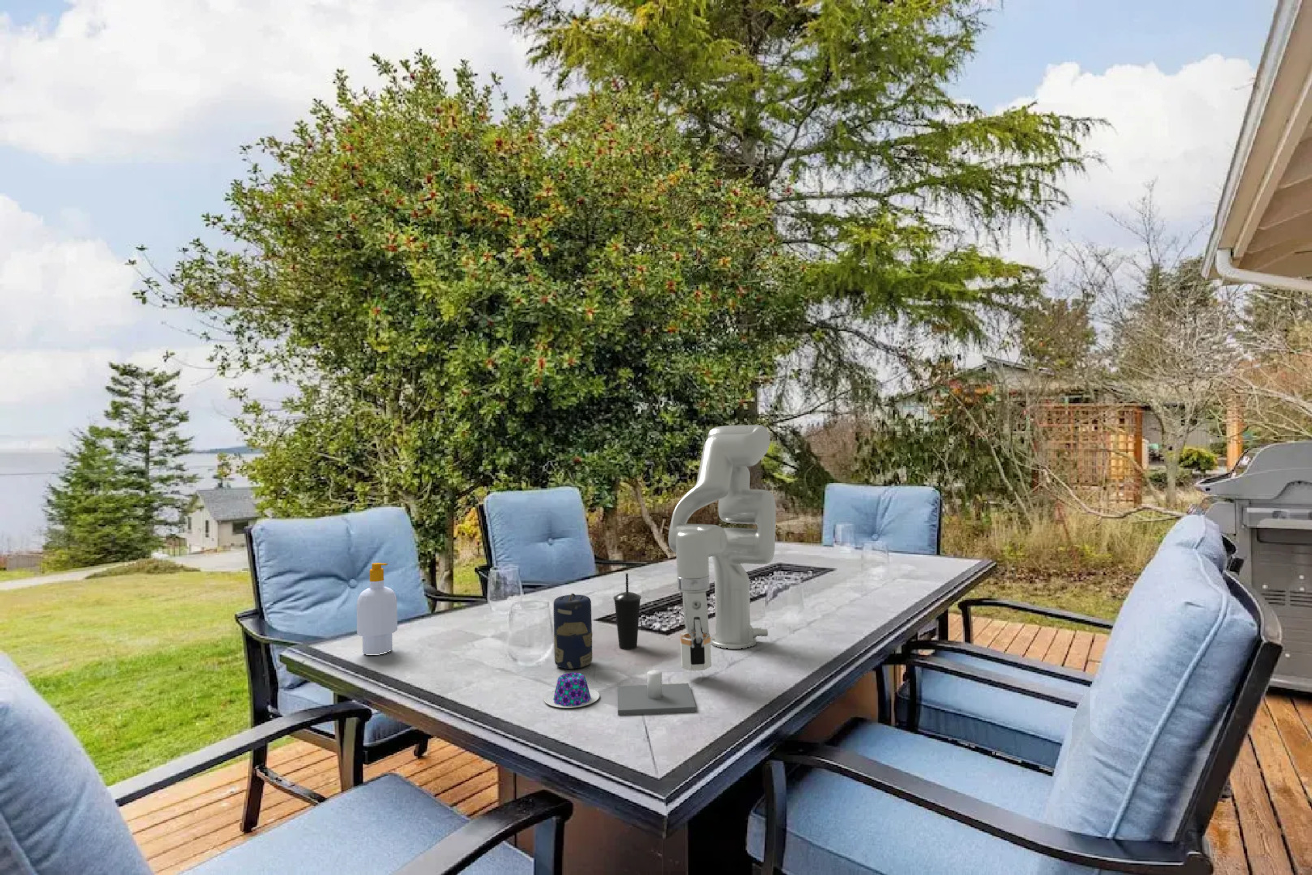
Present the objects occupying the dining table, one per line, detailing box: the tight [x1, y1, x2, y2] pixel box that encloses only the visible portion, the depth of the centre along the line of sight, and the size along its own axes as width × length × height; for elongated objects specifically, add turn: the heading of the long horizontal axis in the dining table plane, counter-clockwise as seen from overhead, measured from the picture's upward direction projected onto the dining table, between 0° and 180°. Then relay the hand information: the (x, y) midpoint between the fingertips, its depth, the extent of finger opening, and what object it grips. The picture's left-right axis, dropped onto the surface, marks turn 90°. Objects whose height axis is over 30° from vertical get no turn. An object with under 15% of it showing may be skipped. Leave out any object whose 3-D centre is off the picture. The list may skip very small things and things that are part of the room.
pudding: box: [543, 672, 600, 709], centre depth 148 cm, size 12×12×5 cm
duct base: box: [617, 669, 697, 716], centre depth 146 cm, size 16×14×6 cm
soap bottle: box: [356, 562, 398, 655], centre depth 185 cm, size 10×10×24 cm
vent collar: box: [679, 631, 712, 672], centre depth 159 cm, size 7×7×7 cm
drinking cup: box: [612, 573, 642, 650], centre depth 186 cm, size 8×8×20 cm
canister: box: [553, 593, 593, 670], centre depth 171 cm, size 10×10×18 cm
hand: (695, 657), depth 160 cm, fingers closed on vent collar, 6 cm apart
